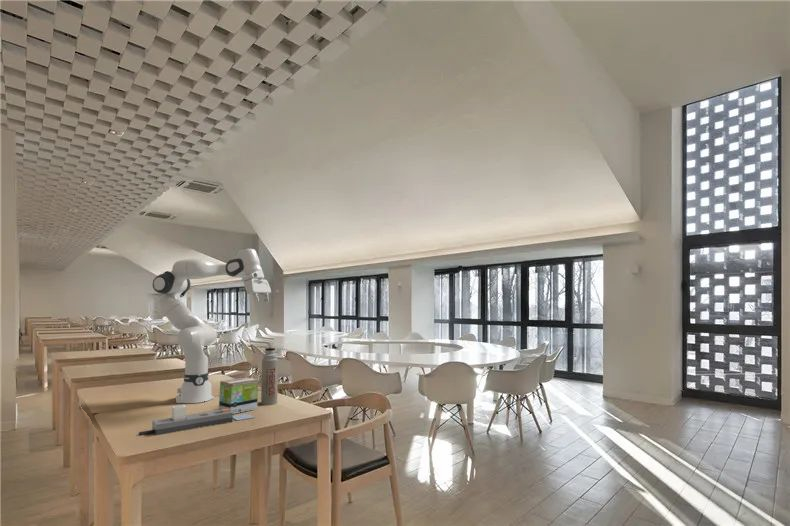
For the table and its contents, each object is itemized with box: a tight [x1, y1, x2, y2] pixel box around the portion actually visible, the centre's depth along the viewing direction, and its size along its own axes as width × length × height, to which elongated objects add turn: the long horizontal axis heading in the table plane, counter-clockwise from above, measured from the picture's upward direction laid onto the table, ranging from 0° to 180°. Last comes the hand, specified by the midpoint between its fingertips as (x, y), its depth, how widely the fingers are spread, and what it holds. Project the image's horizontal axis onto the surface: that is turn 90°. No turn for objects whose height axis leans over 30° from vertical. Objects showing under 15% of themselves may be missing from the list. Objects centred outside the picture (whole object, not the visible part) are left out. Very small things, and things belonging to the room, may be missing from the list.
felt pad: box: [233, 413, 256, 422], centre depth 205 cm, size 8×8×1 cm
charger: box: [171, 404, 187, 421], centre depth 188 cm, size 4×4×7 cm
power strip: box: [138, 409, 234, 436], centre depth 190 cm, size 8×36×5 cm, turn 129°
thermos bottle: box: [260, 347, 279, 406], centre depth 234 cm, size 8×8×28 cm
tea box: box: [218, 377, 259, 415], centre depth 218 cm, size 15×10×15 cm
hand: (262, 302), depth 236 cm, fingers open, 8 cm apart
